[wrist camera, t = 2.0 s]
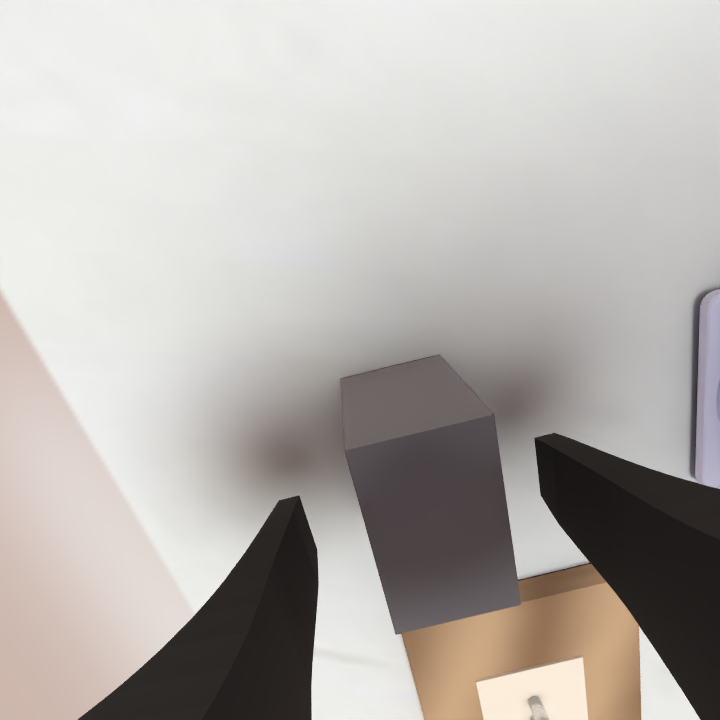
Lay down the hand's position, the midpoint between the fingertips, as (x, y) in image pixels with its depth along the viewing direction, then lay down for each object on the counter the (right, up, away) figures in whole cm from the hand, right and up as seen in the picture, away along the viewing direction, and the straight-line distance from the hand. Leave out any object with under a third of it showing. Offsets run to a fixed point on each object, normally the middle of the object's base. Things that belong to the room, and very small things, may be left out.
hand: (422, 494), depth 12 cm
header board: (+6, -12, +8) cm, 16 cm away
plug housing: (0, +1, +3) cm, 3 cm away
